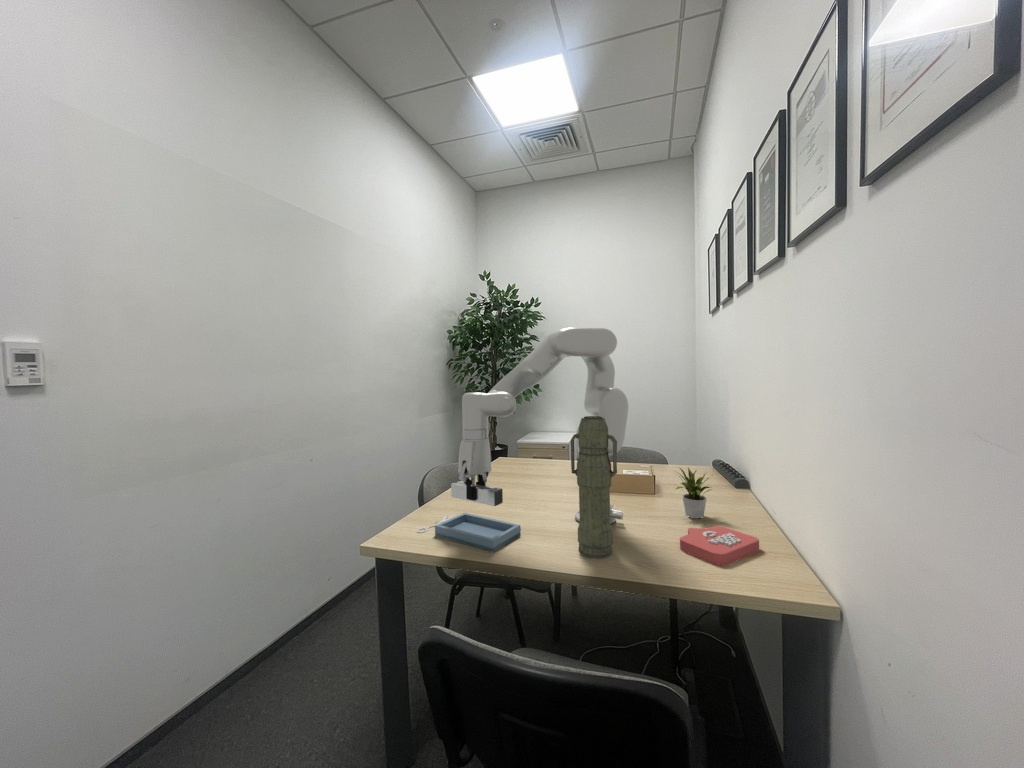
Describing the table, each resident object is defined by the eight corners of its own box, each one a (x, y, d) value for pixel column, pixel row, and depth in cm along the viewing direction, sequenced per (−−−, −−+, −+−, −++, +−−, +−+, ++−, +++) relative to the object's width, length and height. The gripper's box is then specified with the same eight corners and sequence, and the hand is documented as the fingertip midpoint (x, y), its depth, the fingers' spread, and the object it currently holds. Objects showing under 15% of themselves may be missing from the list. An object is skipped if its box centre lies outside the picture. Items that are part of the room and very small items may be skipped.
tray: (520, 535, 113) (520, 525, 113) (493, 552, 102) (493, 540, 102) (464, 522, 125) (464, 512, 125) (435, 535, 114) (434, 525, 114)
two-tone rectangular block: (502, 502, 111) (502, 488, 111) (495, 506, 108) (494, 491, 108) (459, 494, 120) (459, 481, 120) (451, 497, 117) (451, 483, 117)
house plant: (657, 512, 131) (656, 463, 131) (687, 506, 137) (686, 459, 137) (693, 526, 118) (692, 472, 118) (724, 518, 124) (723, 467, 124)
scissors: (412, 533, 116) (438, 511, 135) (412, 536, 116) (438, 513, 135) (446, 535, 114) (468, 512, 133) (446, 538, 114) (468, 514, 133)
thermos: (620, 560, 97) (617, 418, 96) (571, 556, 99) (569, 418, 99) (618, 545, 105) (615, 415, 105) (573, 542, 108) (571, 415, 108)
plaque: (708, 519, 114) (762, 536, 101) (708, 532, 114) (762, 551, 101) (667, 532, 105) (720, 553, 92) (667, 546, 105) (720, 569, 92)
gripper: (482, 431, 123) (483, 489, 123) (446, 437, 109) (446, 503, 109) (502, 432, 119) (503, 493, 119) (466, 439, 105) (467, 507, 105)
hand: (476, 497), depth 114 cm, fingers closed on two-tone rectangular block, 3 cm apart
